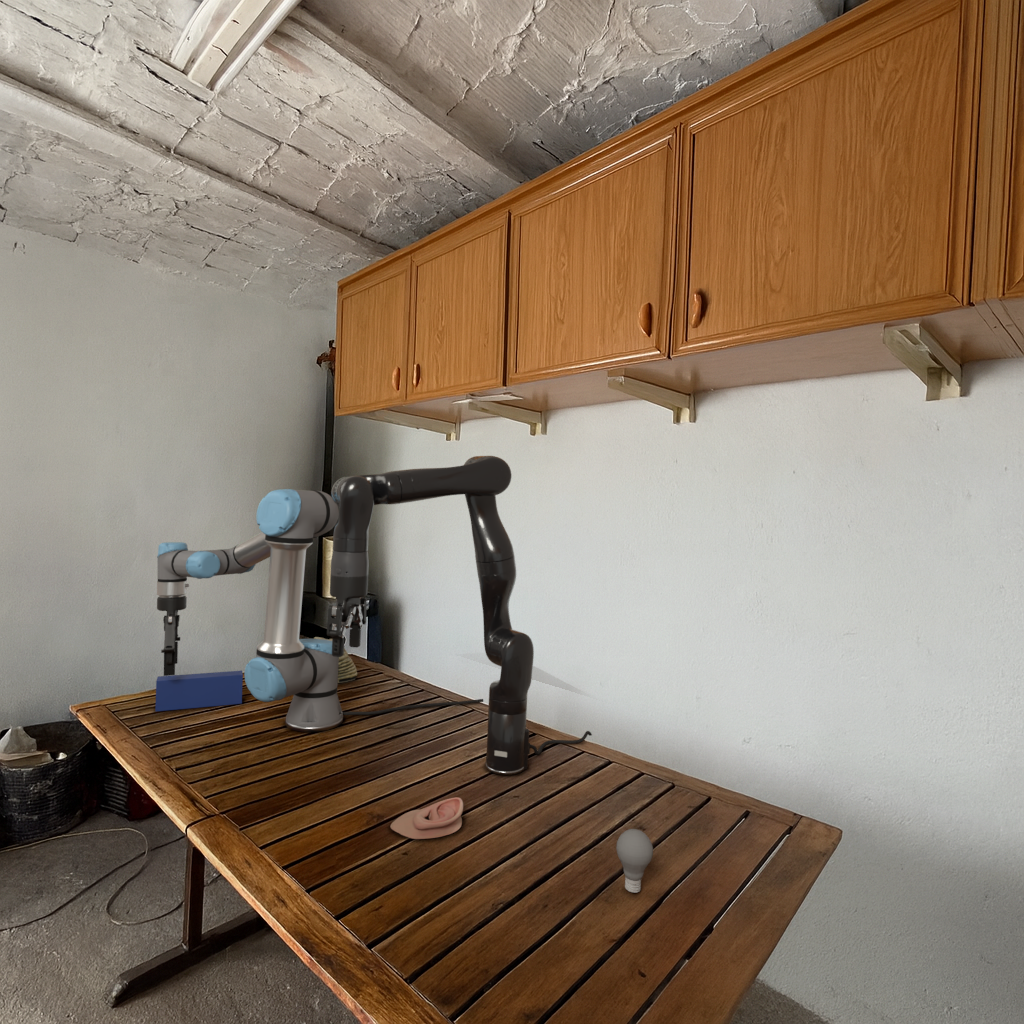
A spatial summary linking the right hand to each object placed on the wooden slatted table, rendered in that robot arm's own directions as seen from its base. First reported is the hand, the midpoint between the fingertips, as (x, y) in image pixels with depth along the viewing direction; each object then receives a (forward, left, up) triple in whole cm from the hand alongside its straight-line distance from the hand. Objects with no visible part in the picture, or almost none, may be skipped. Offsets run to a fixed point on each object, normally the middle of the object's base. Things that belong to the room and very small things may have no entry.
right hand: (346, 651), depth 130 cm
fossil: (-15, -88, -32) cm, 94 cm away
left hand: (+33, -76, -20) cm, 85 cm away
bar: (+25, -76, -32) cm, 86 cm away
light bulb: (-38, +48, -32) cm, 69 cm away
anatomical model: (-14, +15, -32) cm, 38 cm away
